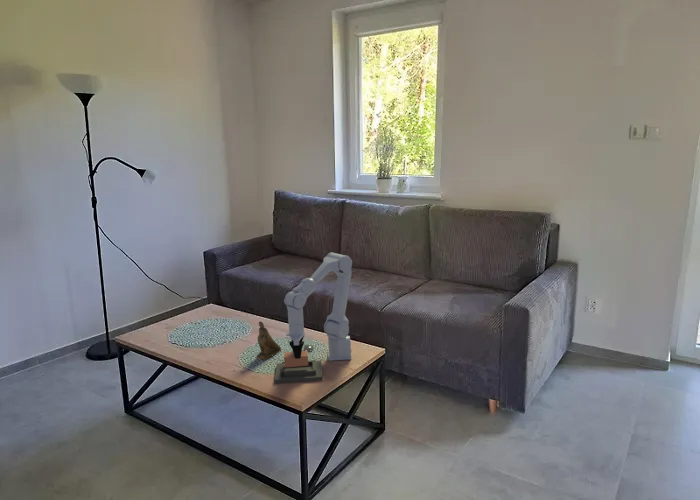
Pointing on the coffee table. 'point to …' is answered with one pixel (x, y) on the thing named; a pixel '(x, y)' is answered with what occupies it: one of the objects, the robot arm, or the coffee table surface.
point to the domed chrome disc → (308, 347)
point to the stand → (298, 372)
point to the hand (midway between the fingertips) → (297, 355)
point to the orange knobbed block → (293, 362)
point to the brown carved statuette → (266, 343)
